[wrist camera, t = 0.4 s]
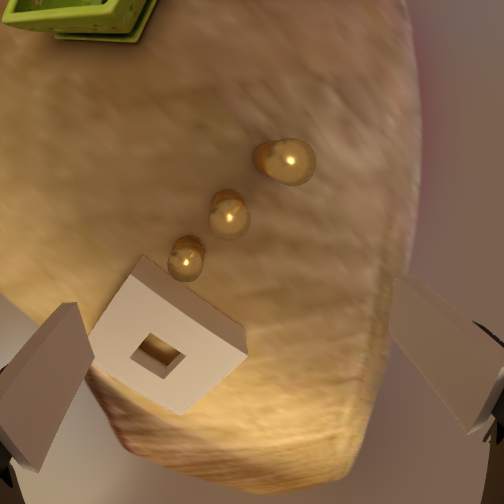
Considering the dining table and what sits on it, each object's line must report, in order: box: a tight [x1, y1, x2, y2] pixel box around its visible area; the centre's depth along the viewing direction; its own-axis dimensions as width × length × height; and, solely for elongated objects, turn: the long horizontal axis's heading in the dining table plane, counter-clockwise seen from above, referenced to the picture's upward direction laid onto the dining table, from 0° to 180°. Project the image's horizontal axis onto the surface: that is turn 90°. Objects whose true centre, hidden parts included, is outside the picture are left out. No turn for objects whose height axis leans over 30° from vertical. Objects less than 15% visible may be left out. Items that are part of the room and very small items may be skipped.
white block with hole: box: [88, 255, 248, 416], centre depth 36 cm, size 16×14×6 cm
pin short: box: [168, 236, 205, 282], centre depth 34 cm, size 4×4×5 cm
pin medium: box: [209, 189, 250, 240], centre depth 31 cm, size 4×4×8 cm
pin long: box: [253, 138, 316, 186], centre depth 28 cm, size 4×4×12 cm
